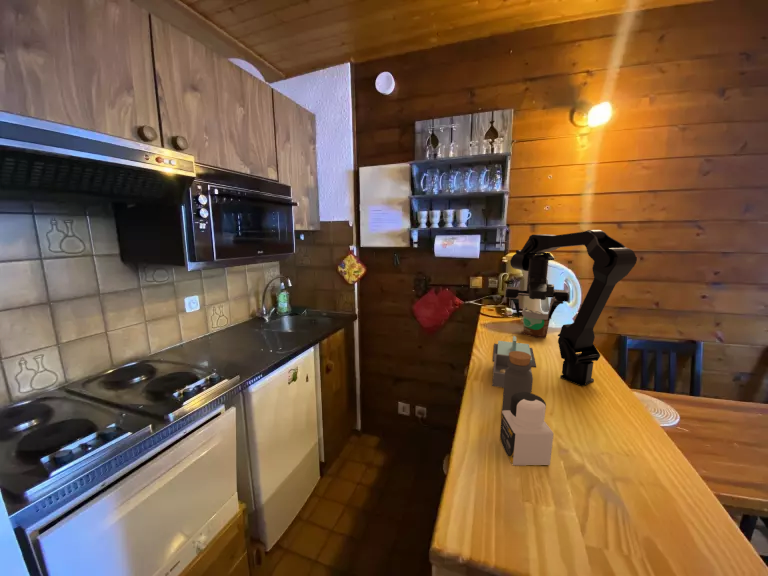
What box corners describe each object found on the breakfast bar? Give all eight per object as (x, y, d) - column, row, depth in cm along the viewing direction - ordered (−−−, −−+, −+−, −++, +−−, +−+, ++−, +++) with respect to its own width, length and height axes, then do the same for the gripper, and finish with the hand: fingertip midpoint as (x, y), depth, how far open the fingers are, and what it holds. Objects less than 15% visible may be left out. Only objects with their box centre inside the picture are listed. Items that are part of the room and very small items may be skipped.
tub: (493, 365, 100) (494, 353, 100) (528, 370, 97) (529, 358, 96) (492, 385, 88) (493, 372, 87) (531, 392, 84) (532, 378, 83)
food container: (513, 331, 133) (515, 308, 131) (524, 329, 135) (525, 306, 133) (538, 340, 122) (540, 315, 120) (549, 338, 124) (552, 314, 122)
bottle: (501, 418, 73) (506, 358, 70) (501, 405, 78) (506, 348, 75) (529, 423, 71) (535, 361, 68) (527, 409, 76) (532, 351, 73)
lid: (497, 344, 117) (498, 330, 115) (528, 348, 113) (529, 333, 112) (497, 359, 103) (498, 343, 102) (531, 364, 100) (533, 348, 99)
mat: (494, 344, 118) (494, 343, 118) (532, 349, 113) (532, 347, 113) (492, 361, 103) (492, 360, 103) (536, 367, 99) (536, 366, 99)
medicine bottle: (499, 440, 65) (503, 387, 63) (533, 441, 65) (539, 388, 63) (511, 466, 58) (516, 407, 56) (550, 467, 58) (557, 408, 56)
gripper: (507, 275, 99) (503, 322, 102) (575, 278, 92) (569, 328, 95) (507, 270, 109) (503, 313, 112) (568, 273, 102) (562, 318, 106)
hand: (533, 318), depth 106 cm, fingers open, 9 cm apart
